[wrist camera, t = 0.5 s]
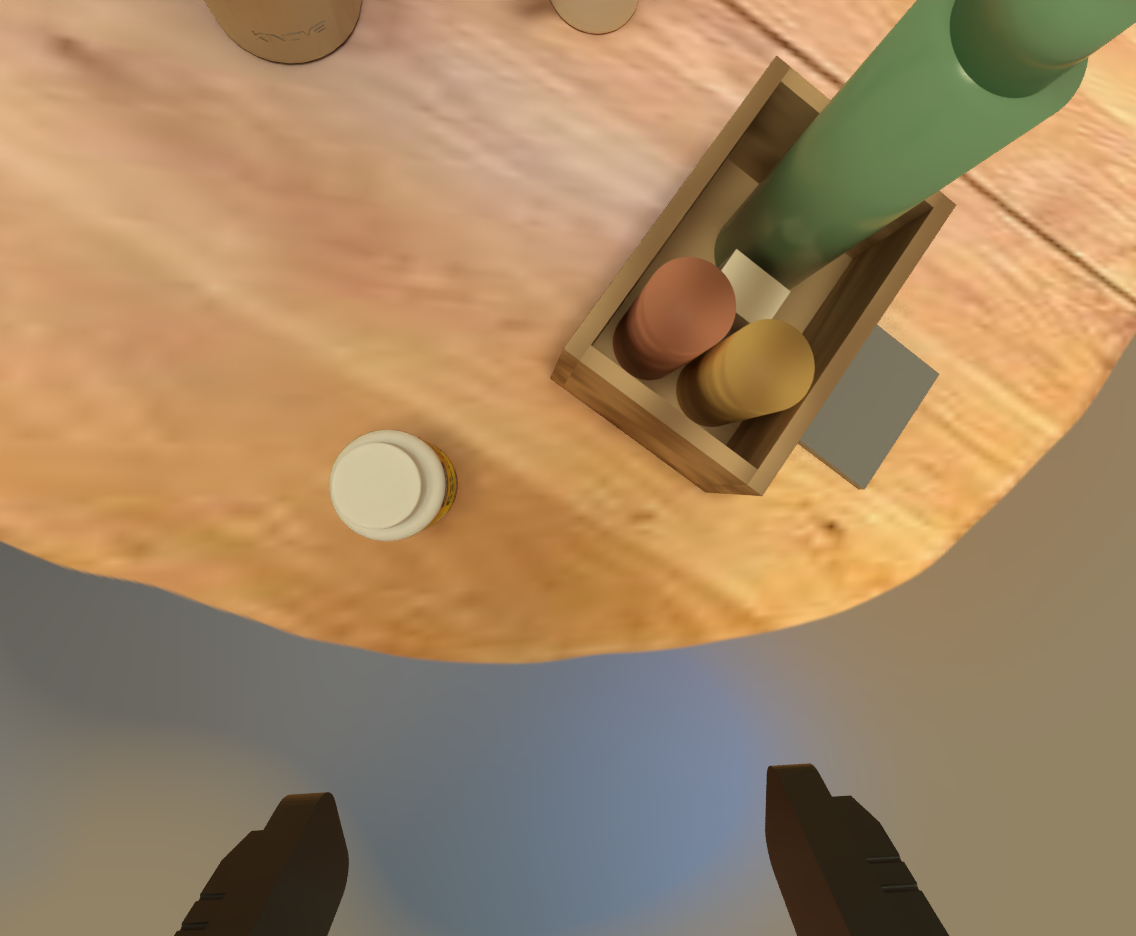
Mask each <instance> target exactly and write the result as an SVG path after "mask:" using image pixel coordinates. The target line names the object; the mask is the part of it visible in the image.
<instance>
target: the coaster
mask: <svg viewBox="0 0 1136 936" xmlns="http://www.w3.org/2000/svg"><path fill="white" fill-rule="evenodd" d="M938 375H939V373H937V372H936V371H935V370H933V369H932V368H931V367H930V366H928V365H927V364H926V363H925V362H923V361H922V360H921V359H920V358H918V357H917V356H916V355H915V354H913V353H912V352H911V351H910V350H908V349H907V348H906V347H904V346H903V345H902V344H901V343H899V342H898V341H897V340H896V339H894V338H893V337H892V336H891V335H889V334H888V333H887V332H886V331H884V330H883V329H882V328H881V327H879V326H878V325H876V326H875V328H874V329H873V331H872V332H871V334H870V335H869V337H868V338H867V340H866V341H865V343H864V344H863V346H862V347H861V349H860V350H859V352H858V353H857V355H856V356H855V358H854V359H853V361H852V362H851V364H850V365H849V367H848V368H847V370H846V371H845V373H844V374H843V376H842V377H841V379H840V380H839V382H838V383H837V385H836V386H835V388H834V389H833V391H832V392H831V394H830V395H829V397H828V398H827V400H826V401H825V403H824V404H823V406H822V407H821V409H820V410H819V412H818V413H817V415H816V416H815V418H814V419H813V421H812V422H811V424H810V425H809V427H808V428H807V430H806V431H805V433H804V434H803V436H802V437H801V439H800V440H799V442H798V444H800V445H801V446H802V447H804V448H805V449H806V450H808V451H809V452H810V453H812V454H813V455H814V456H816V457H817V458H818V459H820V460H821V461H822V462H824V463H825V464H826V465H828V466H829V467H830V468H832V469H833V470H834V471H835V472H837V473H838V474H839V475H841V476H842V477H843V478H845V479H846V480H847V481H849V482H850V483H851V484H853V485H854V486H855V487H857V488H858V489H865V488H866V487H867V485H868V484H869V482H870V480H871V479H872V477H873V476H874V474H875V473H876V471H877V470H878V468H879V467H880V465H881V463H882V462H883V460H884V459H885V457H886V456H887V454H888V453H889V451H890V450H891V448H892V446H893V445H894V443H895V442H896V440H897V439H898V437H899V436H900V434H901V433H902V431H903V429H904V428H905V426H906V425H907V423H908V422H909V420H910V419H911V417H912V416H913V414H914V413H915V411H916V409H917V408H918V406H919V405H920V403H921V402H922V400H923V399H924V397H925V396H926V394H927V392H928V391H929V389H930V388H931V386H932V385H933V383H934V382H935V380H936V379H937V377H938Z"/></svg>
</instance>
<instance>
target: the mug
mask: <svg viewBox="0 0 1136 936" xmlns="http://www.w3.org/2000/svg"><path fill="white" fill-rule="evenodd" d="M551 2H552V4H553V6H554V8H555V9H556V11H557V12H558V14H559V15H560V16H561V17H562V18H563V19H564V20H565V21H566V22H567V23H568V24H570V25H571V26H573V27H574V28H576V29H578V30H581V31H584V32H587V33H593V34H602V33H608V32H611V31H614V30H616V29H618V28H620V27H621V26H623V25H624V24H625V23H626V22H627V21H628V20H629V19H630V17H631V16H632V14H633V13H634V11H635V9H636V6H637V3H638V0H551Z"/></svg>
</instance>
